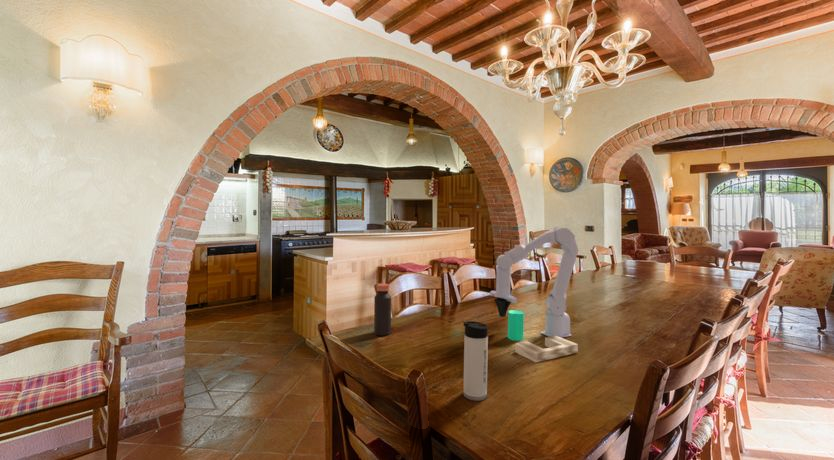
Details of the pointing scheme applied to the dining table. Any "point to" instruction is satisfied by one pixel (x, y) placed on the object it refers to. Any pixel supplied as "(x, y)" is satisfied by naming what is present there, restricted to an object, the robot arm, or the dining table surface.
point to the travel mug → (475, 360)
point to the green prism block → (515, 325)
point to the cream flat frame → (546, 349)
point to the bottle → (382, 311)
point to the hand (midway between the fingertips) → (502, 316)
